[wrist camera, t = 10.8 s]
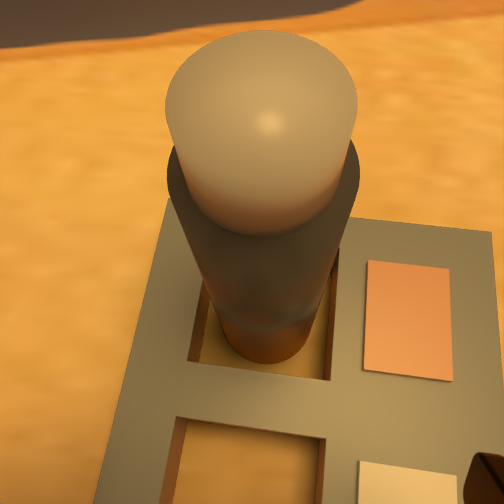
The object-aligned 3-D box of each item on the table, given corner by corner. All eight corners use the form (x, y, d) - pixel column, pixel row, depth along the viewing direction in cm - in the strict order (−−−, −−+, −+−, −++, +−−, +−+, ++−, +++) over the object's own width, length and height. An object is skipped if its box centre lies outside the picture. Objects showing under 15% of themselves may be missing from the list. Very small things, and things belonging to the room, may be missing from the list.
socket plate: (490, 693, 15) (536, 745, 12) (88, 615, 16) (54, 646, 14) (467, 255, 21) (494, 228, 19) (178, 223, 22) (167, 194, 20)
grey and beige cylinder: (307, 369, 19) (378, 217, 6) (215, 357, 20) (113, 189, 7) (315, 283, 21) (385, 22, 8) (230, 272, 21) (169, 7, 8)
